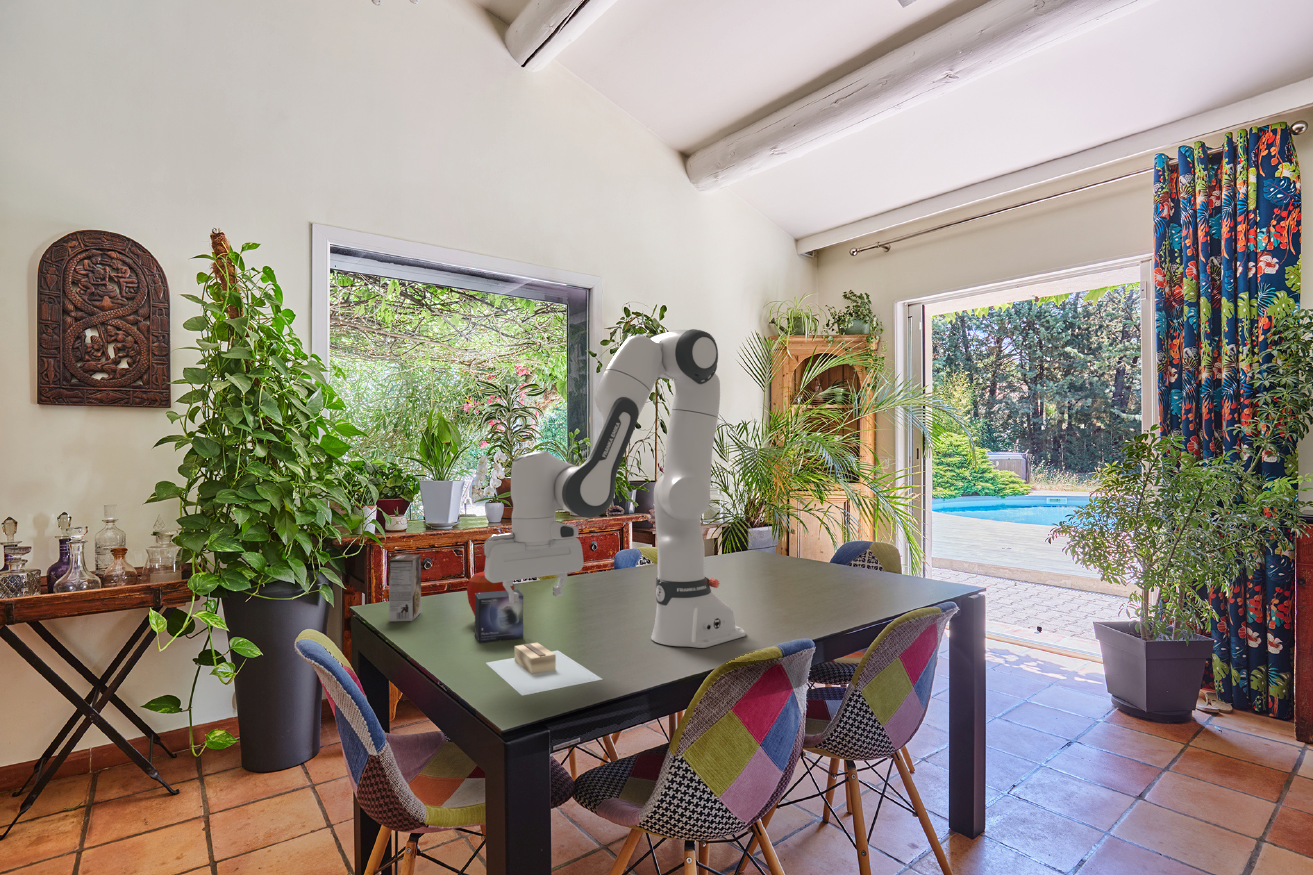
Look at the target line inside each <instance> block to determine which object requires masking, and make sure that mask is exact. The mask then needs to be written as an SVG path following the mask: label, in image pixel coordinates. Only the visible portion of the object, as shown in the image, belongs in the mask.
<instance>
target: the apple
mask: <svg viewBox="0 0 1313 875" xmlns="http://www.w3.org/2000/svg"><path fill="white" fill-rule="evenodd" d="M510 587H511V589H512V590H515V584H514V583H513V586H510ZM496 591H506V589H505V588H504V586H503V582H497V583H492V582H490V581H488V580H487V579H486V578H485V570H483V571H480V572H477V573H474V574H473V575H472V577H470V578H469V580H468V583H467V588H466V592H467V600H468V604H469V606H470V608H471V610H472V613H473V615H474V616H475V593H483V592H496Z"/></svg>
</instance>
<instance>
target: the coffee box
mask: <svg viewBox="0 0 1313 875" xmlns="http://www.w3.org/2000/svg"><path fill="white" fill-rule="evenodd" d="M421 556H422V555H421V554H396V556H394V557H391V558H390V559H389V561H388V578H389V579H388V581H389V582H388V585H389V586H388V588H389V590H388V591H389V592H388V595H389V596H388V614H389V616H388V622H413V621H414V620H415V619H417V617H418V616H419V615H420V614H421V613H422V563H421V562H422V560H421V559H422V558H421Z"/></svg>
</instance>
